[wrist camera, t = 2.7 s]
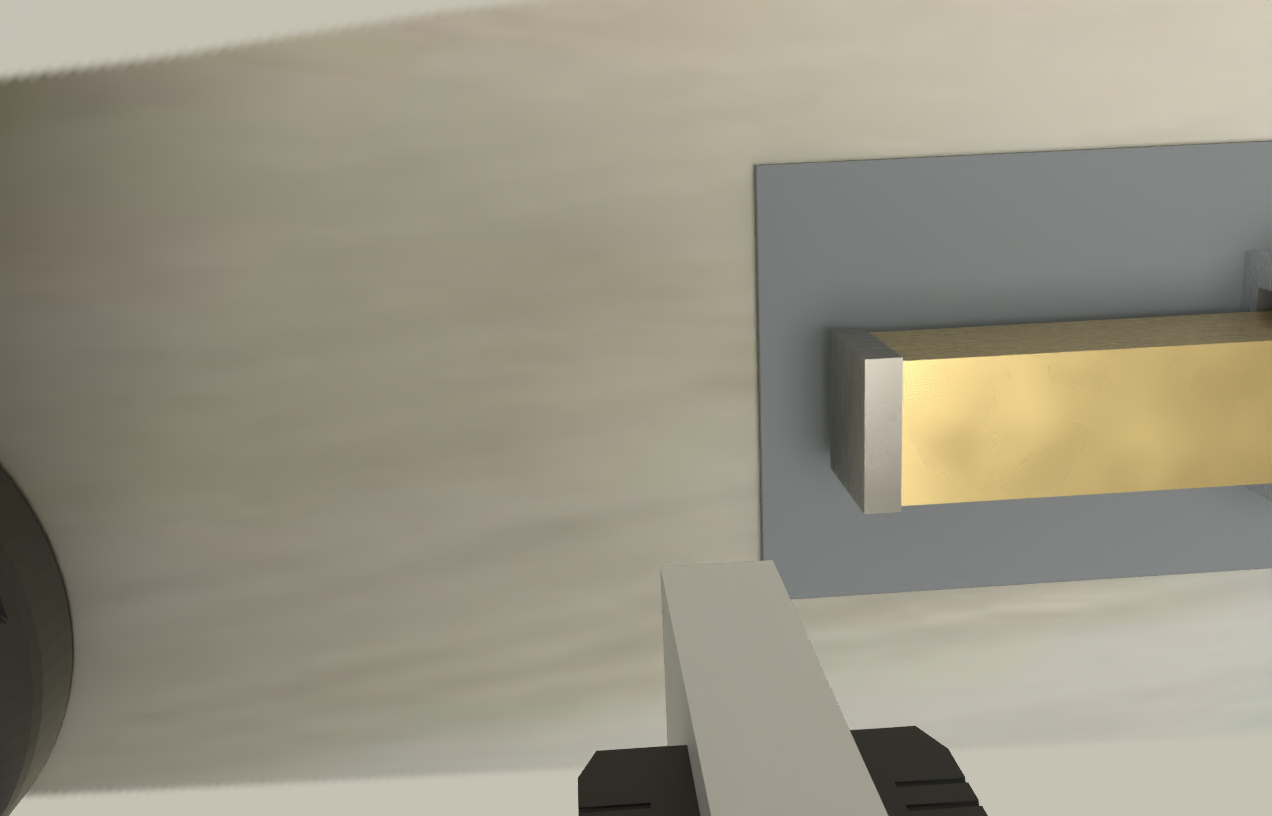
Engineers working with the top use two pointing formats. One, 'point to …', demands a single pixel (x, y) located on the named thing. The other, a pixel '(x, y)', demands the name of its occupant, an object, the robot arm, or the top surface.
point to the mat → (989, 296)
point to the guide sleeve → (1264, 289)
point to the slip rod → (1051, 409)
